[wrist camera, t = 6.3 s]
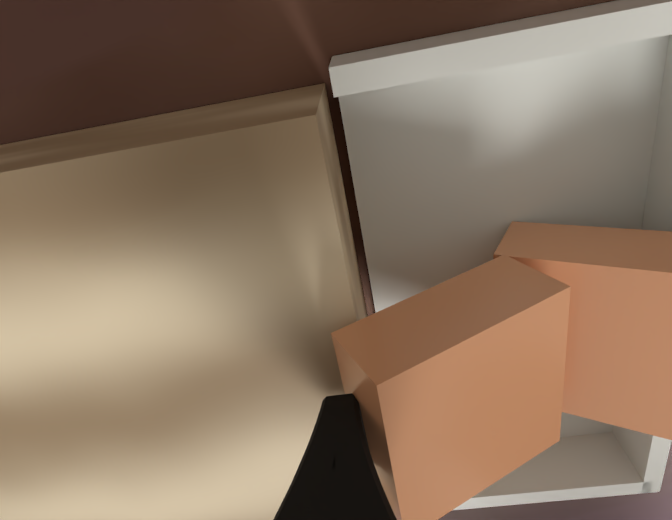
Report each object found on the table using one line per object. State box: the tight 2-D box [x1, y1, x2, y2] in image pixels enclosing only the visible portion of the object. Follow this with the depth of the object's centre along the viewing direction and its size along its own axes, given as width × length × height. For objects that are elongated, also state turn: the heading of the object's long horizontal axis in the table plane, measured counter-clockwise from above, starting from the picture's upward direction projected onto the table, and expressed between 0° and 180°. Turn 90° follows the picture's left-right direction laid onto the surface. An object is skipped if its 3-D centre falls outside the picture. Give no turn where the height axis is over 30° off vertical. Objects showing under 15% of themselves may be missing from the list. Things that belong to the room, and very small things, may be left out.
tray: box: [329, 0, 672, 510], centre depth 14 cm, size 15×9×2 cm, turn 10°
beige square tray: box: [0, 83, 368, 520], centre depth 14 cm, size 14×14×4 cm
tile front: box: [331, 255, 571, 520], centre depth 11 cm, size 5×5×2 cm
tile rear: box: [493, 221, 672, 440], centre depth 13 cm, size 5×5×2 cm
